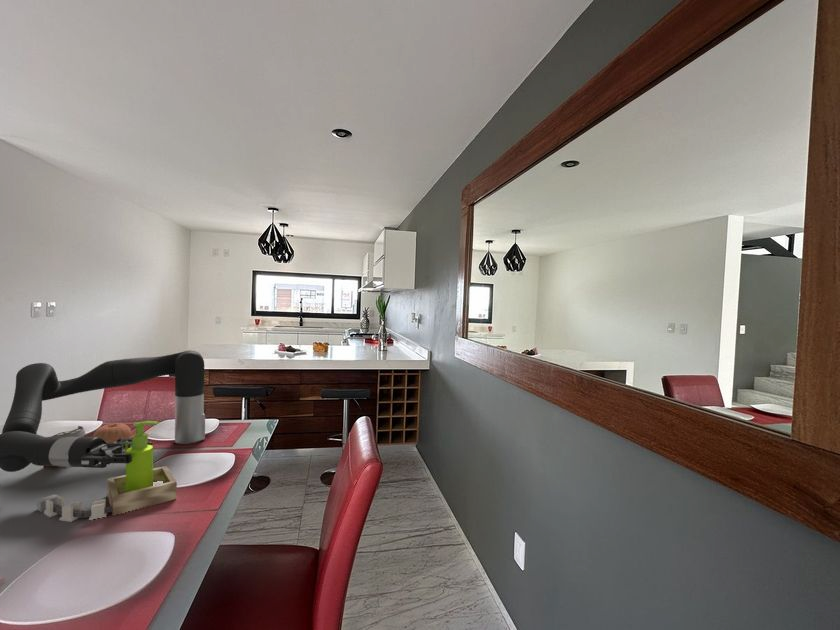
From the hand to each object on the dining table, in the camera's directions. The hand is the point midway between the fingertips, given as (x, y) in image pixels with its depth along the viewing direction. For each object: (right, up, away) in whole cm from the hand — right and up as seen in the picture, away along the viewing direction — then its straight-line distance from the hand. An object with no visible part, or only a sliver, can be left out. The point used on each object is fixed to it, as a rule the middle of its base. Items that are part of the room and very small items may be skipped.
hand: (141, 452), depth 106 cm
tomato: (-35, -10, +36) cm, 52 cm away
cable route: (-11, -12, -7) cm, 18 cm away
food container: (-38, -11, +21) cm, 44 cm away
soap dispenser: (0, -12, +1) cm, 12 cm away
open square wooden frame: (0, -12, +1) cm, 12 cm away
